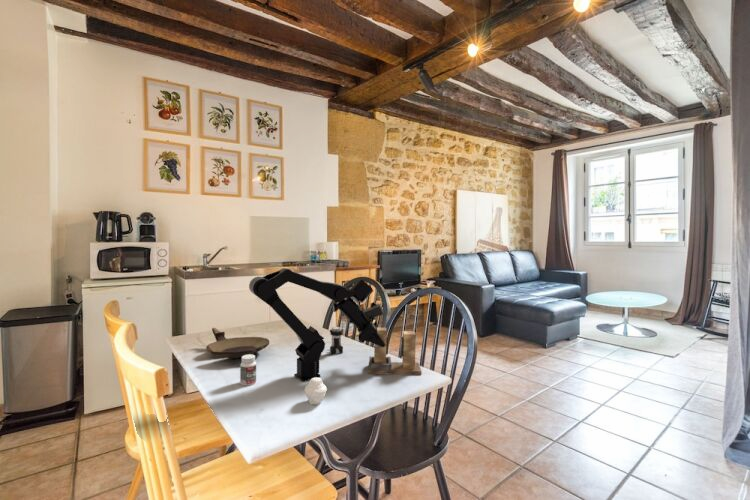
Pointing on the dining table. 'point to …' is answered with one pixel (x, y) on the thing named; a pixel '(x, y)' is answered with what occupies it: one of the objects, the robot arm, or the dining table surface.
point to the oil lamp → (235, 345)
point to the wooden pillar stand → (399, 367)
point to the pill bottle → (248, 370)
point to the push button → (336, 340)
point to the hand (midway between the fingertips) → (384, 344)
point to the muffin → (315, 391)
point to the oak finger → (381, 351)
